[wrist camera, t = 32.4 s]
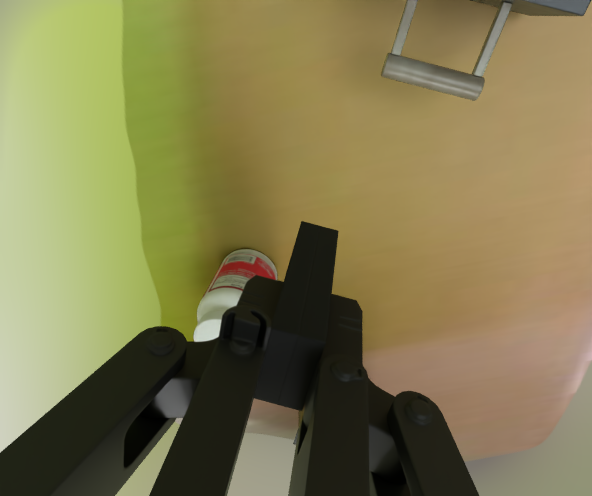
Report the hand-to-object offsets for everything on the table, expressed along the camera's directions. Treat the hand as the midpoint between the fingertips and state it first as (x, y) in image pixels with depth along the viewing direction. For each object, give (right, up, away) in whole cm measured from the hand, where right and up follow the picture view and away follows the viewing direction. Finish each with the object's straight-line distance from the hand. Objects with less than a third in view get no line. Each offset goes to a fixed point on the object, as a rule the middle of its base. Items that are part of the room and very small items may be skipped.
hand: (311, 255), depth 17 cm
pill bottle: (-5, -2, +28) cm, 29 cm away
